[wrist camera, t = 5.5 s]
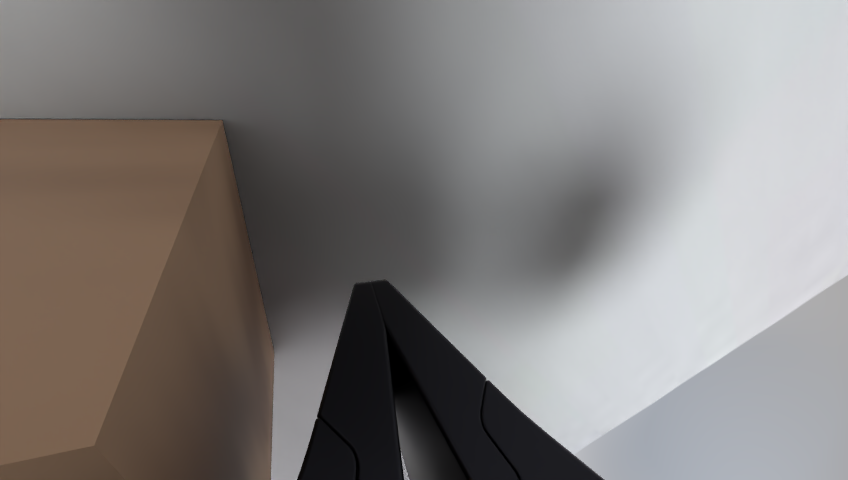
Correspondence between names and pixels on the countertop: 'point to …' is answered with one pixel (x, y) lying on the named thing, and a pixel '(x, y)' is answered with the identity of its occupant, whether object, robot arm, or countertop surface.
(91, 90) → the countertop surface
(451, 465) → the robot arm
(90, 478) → the walnut block
